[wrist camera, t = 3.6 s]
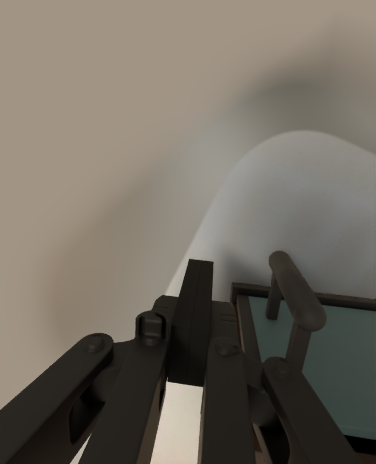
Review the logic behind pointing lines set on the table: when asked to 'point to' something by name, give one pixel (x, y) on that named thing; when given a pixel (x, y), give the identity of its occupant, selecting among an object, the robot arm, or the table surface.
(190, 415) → the table surface
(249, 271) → the table surface
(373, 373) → the glass door
